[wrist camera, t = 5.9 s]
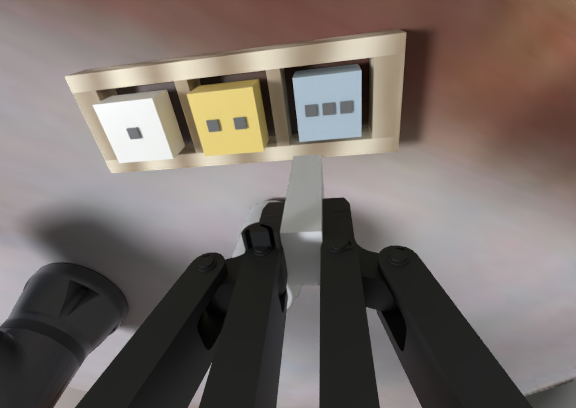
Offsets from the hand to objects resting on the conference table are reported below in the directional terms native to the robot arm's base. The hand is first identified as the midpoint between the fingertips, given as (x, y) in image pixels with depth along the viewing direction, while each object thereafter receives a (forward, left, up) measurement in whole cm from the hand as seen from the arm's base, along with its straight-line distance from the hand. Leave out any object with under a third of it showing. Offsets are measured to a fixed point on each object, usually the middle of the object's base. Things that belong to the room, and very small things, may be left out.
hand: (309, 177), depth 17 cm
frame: (-7, 0, -16) cm, 18 cm away
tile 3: (+1, 0, -15) cm, 15 cm away
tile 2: (-7, 0, -14) cm, 15 cm away
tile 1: (-16, 0, -14) cm, 21 cm away
